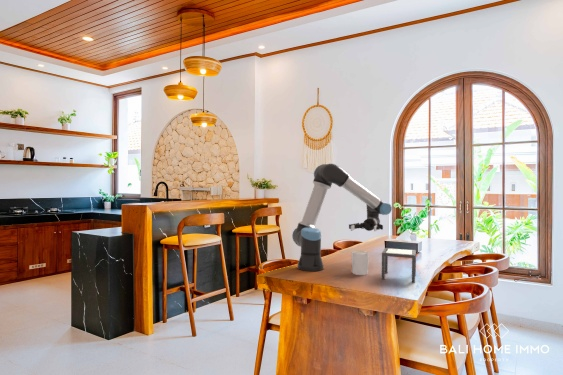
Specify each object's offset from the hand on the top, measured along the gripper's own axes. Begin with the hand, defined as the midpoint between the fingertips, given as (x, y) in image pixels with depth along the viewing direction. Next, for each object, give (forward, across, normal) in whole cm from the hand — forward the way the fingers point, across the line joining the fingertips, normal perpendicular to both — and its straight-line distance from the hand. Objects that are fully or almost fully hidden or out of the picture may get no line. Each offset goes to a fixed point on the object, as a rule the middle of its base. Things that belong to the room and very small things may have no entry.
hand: (362, 228), depth 224 cm
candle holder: (+10, 0, -24) cm, 26 cm away
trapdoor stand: (+8, -20, -25) cm, 33 cm away
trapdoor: (+8, -21, -12) cm, 25 cm away
